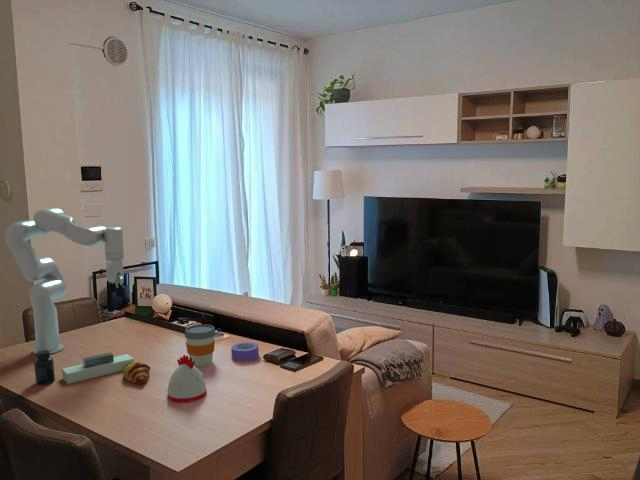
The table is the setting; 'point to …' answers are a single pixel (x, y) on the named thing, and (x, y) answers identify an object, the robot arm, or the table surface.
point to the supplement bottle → (44, 368)
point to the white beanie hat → (186, 382)
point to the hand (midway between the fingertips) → (116, 294)
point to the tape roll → (245, 351)
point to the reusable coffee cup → (200, 344)
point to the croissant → (136, 372)
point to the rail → (95, 369)
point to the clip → (98, 360)
